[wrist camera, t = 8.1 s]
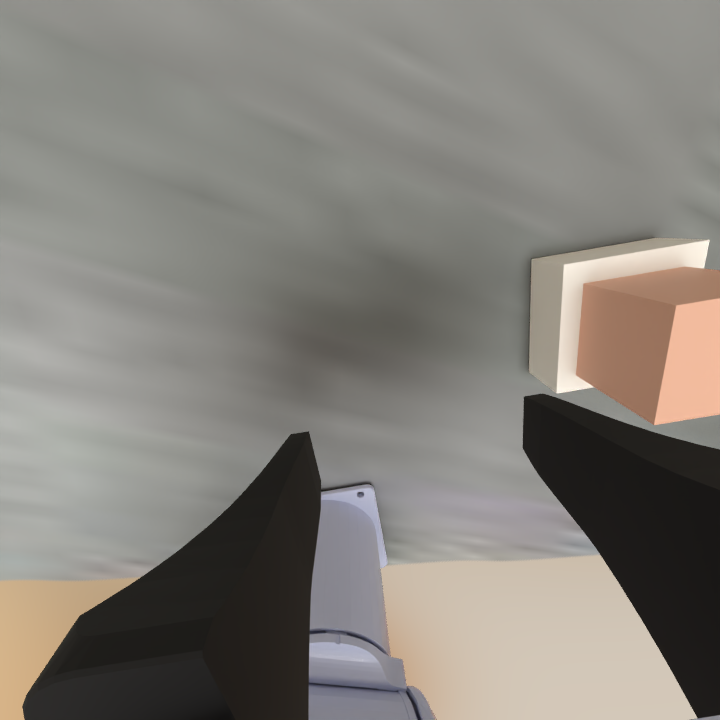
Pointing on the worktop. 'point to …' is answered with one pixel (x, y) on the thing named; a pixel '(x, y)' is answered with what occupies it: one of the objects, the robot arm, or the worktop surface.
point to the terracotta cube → (654, 342)
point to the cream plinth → (565, 289)
